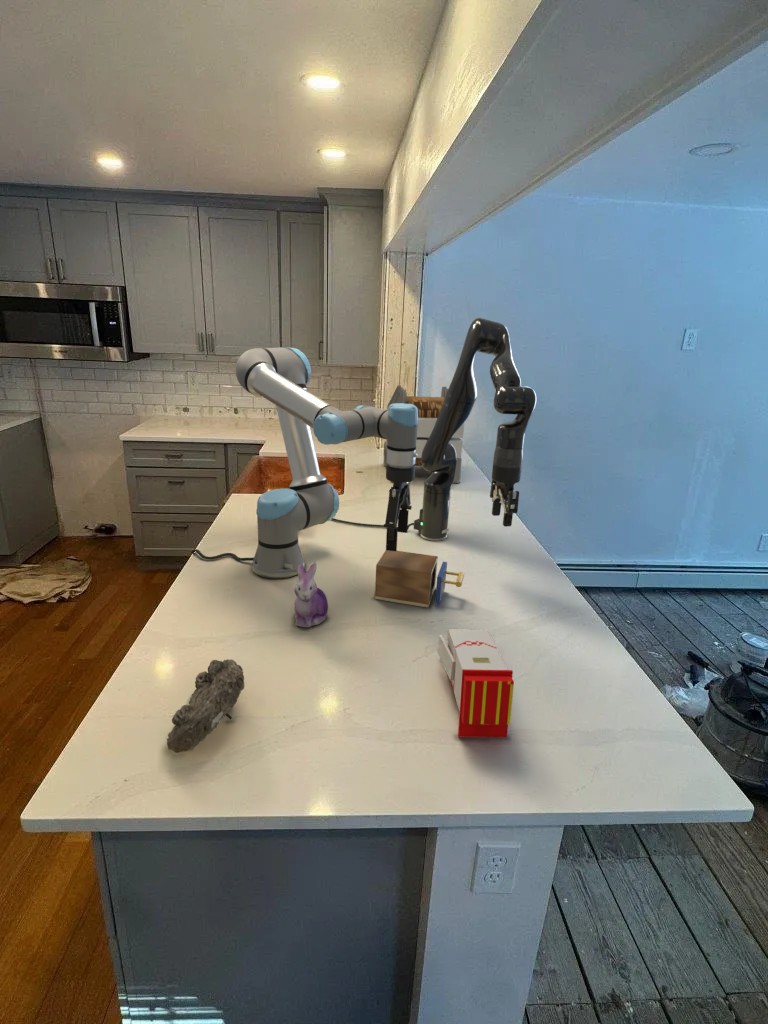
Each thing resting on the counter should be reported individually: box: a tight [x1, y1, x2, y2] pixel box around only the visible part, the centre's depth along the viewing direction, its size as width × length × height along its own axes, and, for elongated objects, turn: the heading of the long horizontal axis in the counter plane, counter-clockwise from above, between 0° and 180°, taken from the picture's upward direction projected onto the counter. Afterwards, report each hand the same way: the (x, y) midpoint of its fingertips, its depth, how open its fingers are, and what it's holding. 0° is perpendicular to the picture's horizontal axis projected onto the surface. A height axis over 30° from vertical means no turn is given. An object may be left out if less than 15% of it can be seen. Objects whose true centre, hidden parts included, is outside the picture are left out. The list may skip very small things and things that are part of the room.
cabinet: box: [374, 549, 439, 608], centre depth 156 cm, size 15×11×10 cm
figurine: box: [293, 562, 329, 628], centre depth 140 cm, size 9×10×15 cm
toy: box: [437, 628, 515, 738], centre depth 117 cm, size 12×13×30 cm
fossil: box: [166, 658, 245, 754], centre depth 106 cm, size 22×10×15 cm
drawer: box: [429, 561, 465, 605], centre depth 155 cm, size 19×10×8 cm, turn 76°
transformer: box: [383, 384, 465, 484], centre depth 268 cm, size 34×33×41 cm
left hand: (397, 540), depth 153 cm, fingers open, 13 cm apart
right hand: (501, 520), depth 155 cm, fingers open, 8 cm apart
